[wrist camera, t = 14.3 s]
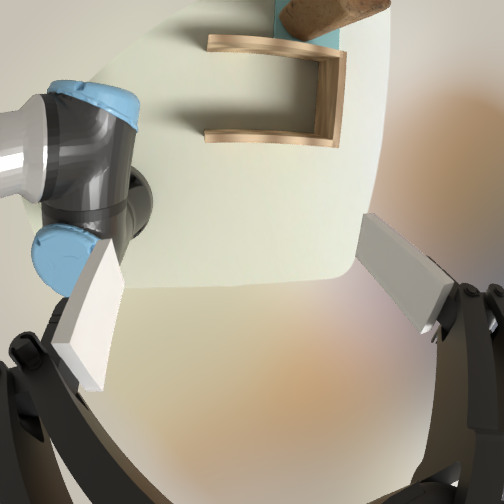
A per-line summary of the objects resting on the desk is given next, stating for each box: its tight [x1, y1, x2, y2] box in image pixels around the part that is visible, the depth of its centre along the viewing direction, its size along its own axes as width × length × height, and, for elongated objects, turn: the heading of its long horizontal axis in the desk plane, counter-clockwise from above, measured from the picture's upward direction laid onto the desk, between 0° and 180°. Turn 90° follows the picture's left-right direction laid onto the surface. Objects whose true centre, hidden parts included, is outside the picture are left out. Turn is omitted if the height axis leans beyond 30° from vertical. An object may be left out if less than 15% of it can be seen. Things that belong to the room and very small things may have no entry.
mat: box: [274, 0, 339, 50], centre depth 34 cm, size 12×12×1 cm
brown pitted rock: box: [279, 0, 391, 42], centre depth 26 cm, size 11×8×20 cm
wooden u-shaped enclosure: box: [204, 35, 347, 148], centre depth 38 cm, size 21×16×8 cm
